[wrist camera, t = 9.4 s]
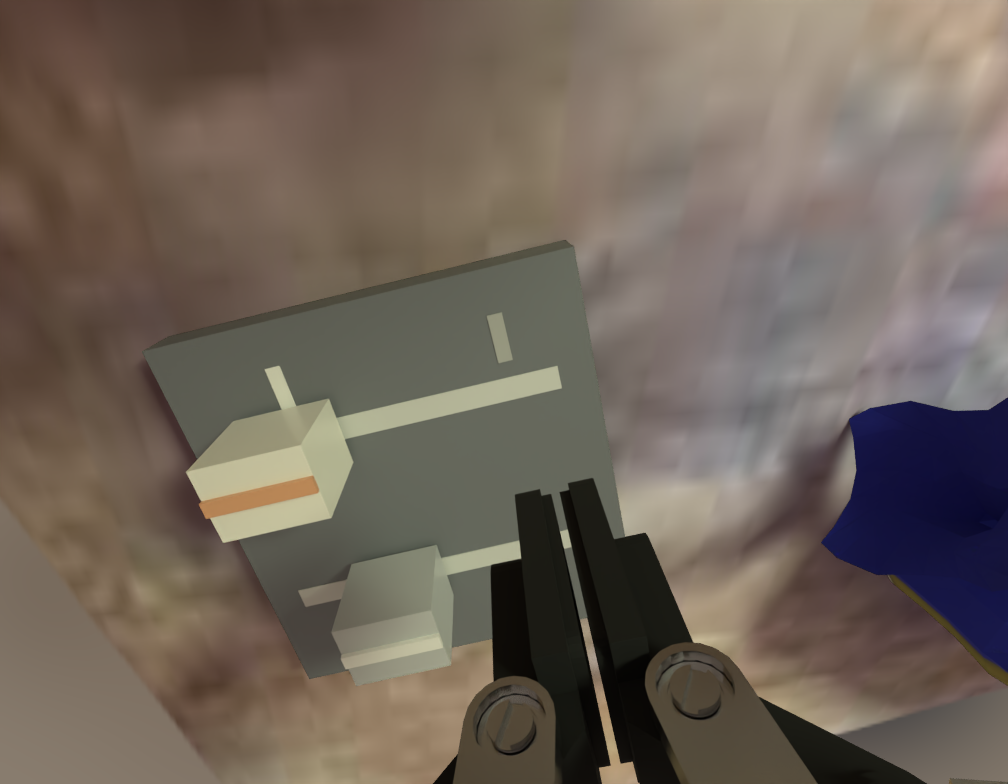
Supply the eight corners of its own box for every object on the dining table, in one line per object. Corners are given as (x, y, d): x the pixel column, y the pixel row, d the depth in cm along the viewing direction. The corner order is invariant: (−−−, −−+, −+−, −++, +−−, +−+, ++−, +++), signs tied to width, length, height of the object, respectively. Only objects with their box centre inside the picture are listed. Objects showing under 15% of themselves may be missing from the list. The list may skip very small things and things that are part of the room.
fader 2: (436, 544, 25) (430, 614, 21) (453, 594, 26) (451, 669, 22) (351, 564, 25) (330, 636, 21) (372, 613, 26) (355, 690, 22)
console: (565, 239, 22) (574, 246, 21) (626, 578, 29) (637, 607, 27) (168, 336, 23) (141, 351, 21) (319, 647, 30) (309, 679, 28)
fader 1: (329, 398, 22) (298, 447, 18) (353, 462, 23) (330, 521, 19) (233, 421, 22) (182, 474, 18) (262, 483, 23) (220, 546, 19)
